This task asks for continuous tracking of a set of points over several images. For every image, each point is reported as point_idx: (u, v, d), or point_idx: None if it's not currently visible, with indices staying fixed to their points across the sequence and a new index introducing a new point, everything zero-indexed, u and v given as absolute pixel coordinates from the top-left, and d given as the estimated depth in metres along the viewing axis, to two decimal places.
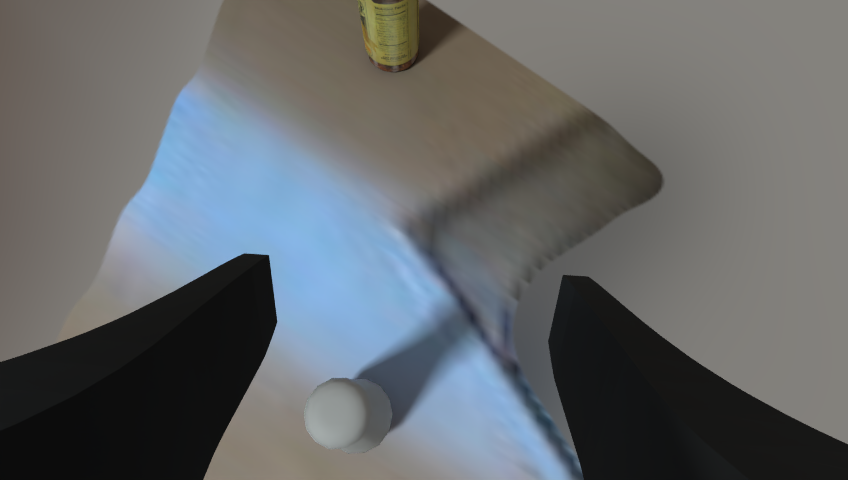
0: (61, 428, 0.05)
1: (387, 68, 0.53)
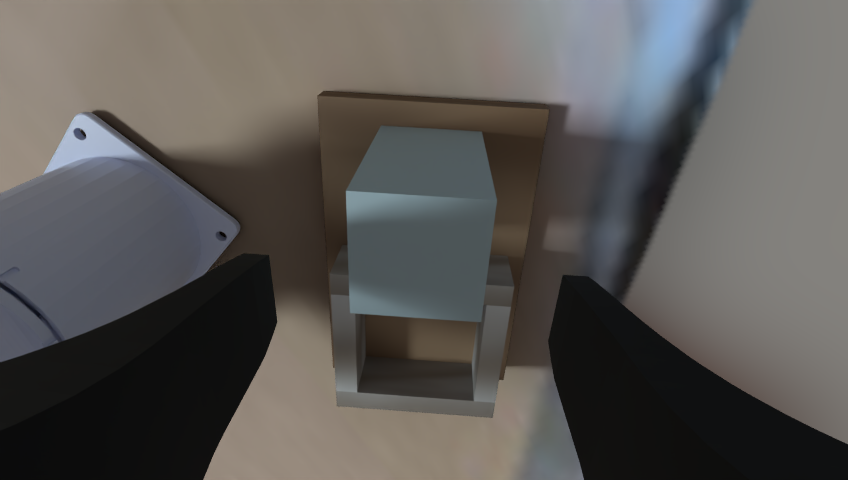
0: (61, 428, 0.05)
1: None
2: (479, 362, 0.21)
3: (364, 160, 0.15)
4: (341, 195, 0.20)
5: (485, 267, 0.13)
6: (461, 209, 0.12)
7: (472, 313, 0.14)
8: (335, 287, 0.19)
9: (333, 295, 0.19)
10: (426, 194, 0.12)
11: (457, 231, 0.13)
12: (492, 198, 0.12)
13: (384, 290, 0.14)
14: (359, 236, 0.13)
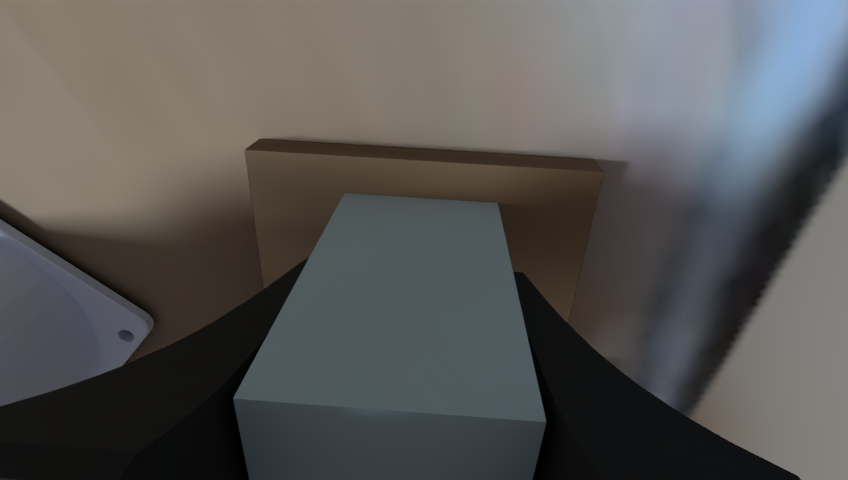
0: (191, 438, 0.05)
1: None
2: None
3: (297, 287, 0.08)
4: None
5: None
6: (472, 433, 0.06)
7: None
8: None
9: None
10: (399, 404, 0.06)
11: (464, 467, 0.06)
12: (536, 413, 0.06)
13: None
14: (270, 469, 0.07)
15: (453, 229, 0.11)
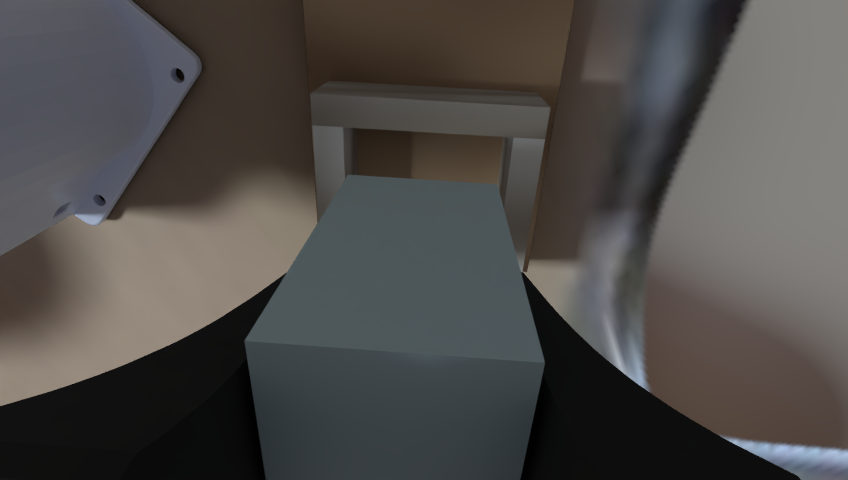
0: (191, 438, 0.05)
1: None
2: None
3: (303, 251, 0.09)
4: (325, 5, 0.16)
5: (517, 467, 0.07)
6: (473, 375, 0.06)
7: None
8: (318, 114, 0.15)
9: (315, 126, 0.15)
10: (403, 347, 0.06)
11: (465, 413, 0.07)
12: (535, 355, 0.06)
13: None
14: (278, 416, 0.07)
15: (454, 205, 0.11)
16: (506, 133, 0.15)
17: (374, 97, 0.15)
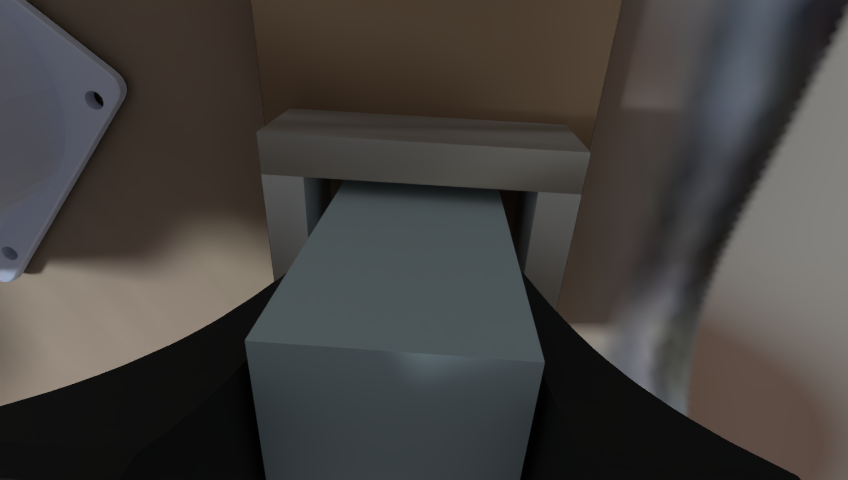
0: (191, 438, 0.05)
1: None
2: None
3: (304, 251, 0.09)
4: (282, 9, 0.12)
5: (517, 467, 0.07)
6: (473, 375, 0.06)
7: None
8: (268, 159, 0.11)
9: (266, 176, 0.11)
10: (404, 346, 0.06)
11: (465, 412, 0.07)
12: (535, 355, 0.06)
13: None
14: (278, 416, 0.07)
15: (454, 205, 0.11)
16: (528, 186, 0.11)
17: (345, 137, 0.10)
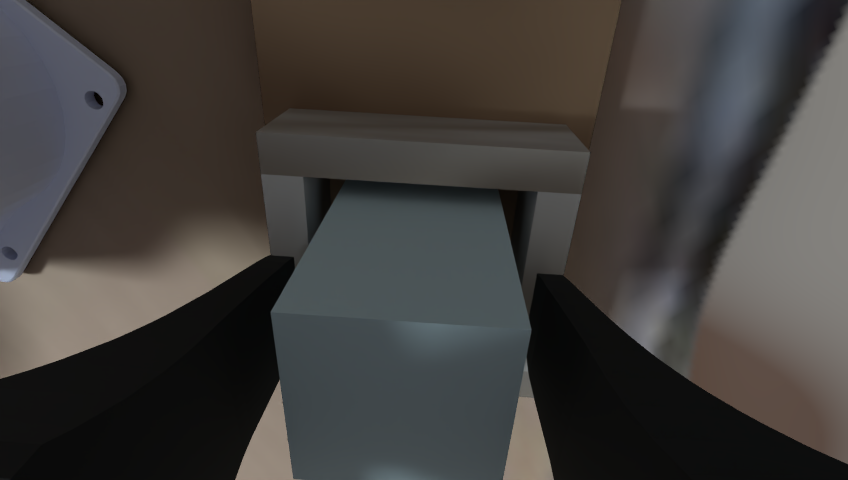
0: (112, 432, 0.05)
1: None
2: None
3: (317, 235, 0.09)
4: (282, 9, 0.12)
5: (508, 424, 0.08)
6: (469, 341, 0.07)
7: None
8: (268, 159, 0.11)
9: (265, 176, 0.11)
10: (409, 317, 0.07)
11: (463, 375, 0.08)
12: (523, 324, 0.07)
13: (345, 451, 0.09)
14: (299, 378, 0.08)
15: (454, 193, 0.12)
16: (528, 186, 0.11)
17: (345, 137, 0.10)
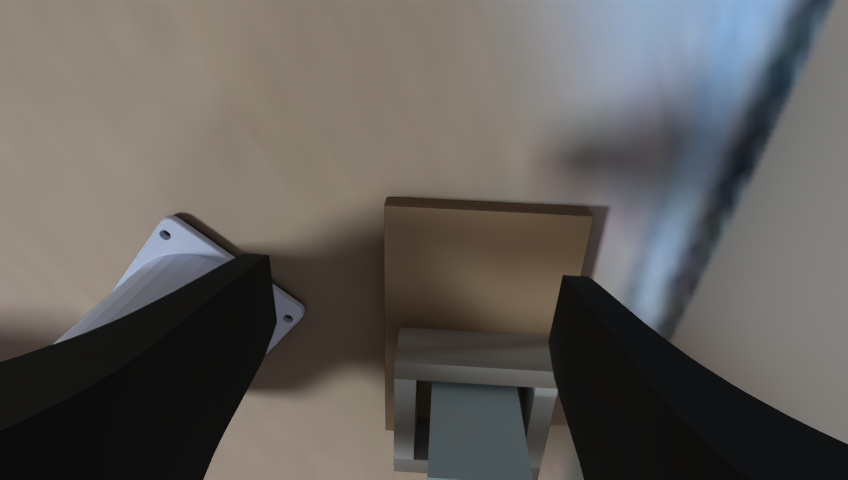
0: (61, 428, 0.05)
1: None
2: (527, 434, 0.23)
3: (431, 422, 0.20)
4: (401, 286, 0.22)
5: None
6: None
7: None
8: (399, 373, 0.21)
9: (397, 379, 0.21)
10: (484, 478, 0.18)
11: None
12: None
13: None
14: None
15: None
16: (531, 385, 0.21)
17: (439, 364, 0.21)
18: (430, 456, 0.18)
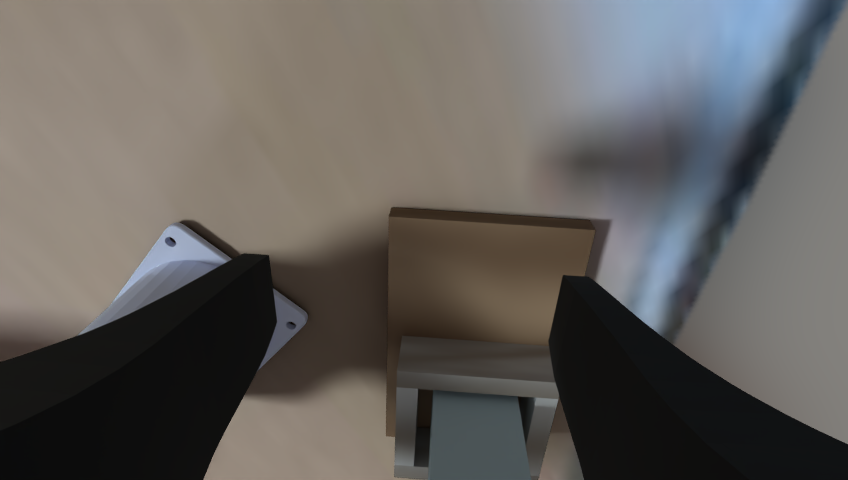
0: (61, 428, 0.05)
1: None
2: (526, 443, 0.23)
3: (433, 431, 0.20)
4: (403, 295, 0.22)
5: None
6: None
7: None
8: (401, 381, 0.21)
9: (399, 388, 0.22)
10: None
11: None
12: None
13: None
14: None
15: None
16: (531, 395, 0.21)
17: (441, 374, 0.21)
18: (432, 465, 0.19)
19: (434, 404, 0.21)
